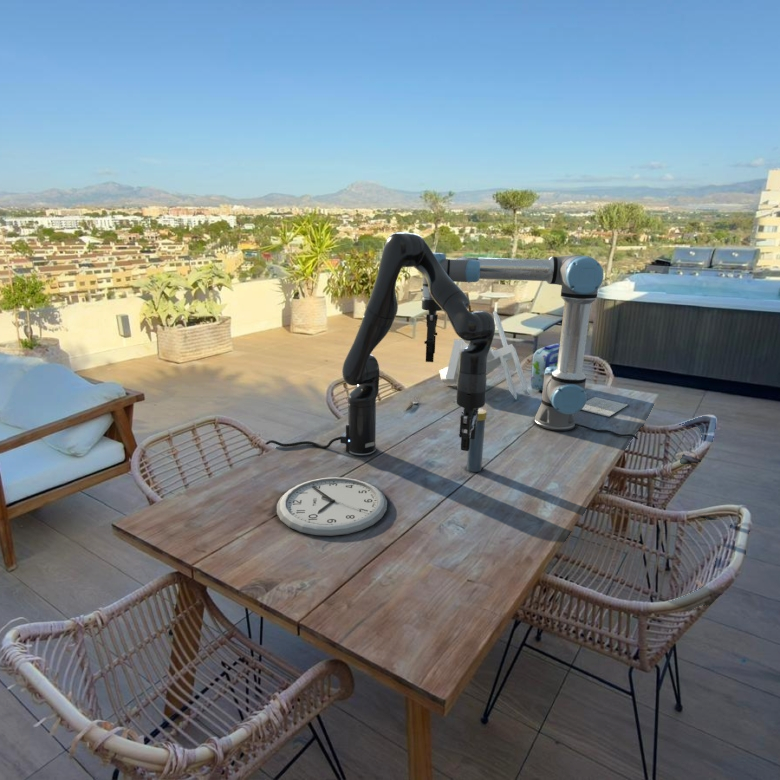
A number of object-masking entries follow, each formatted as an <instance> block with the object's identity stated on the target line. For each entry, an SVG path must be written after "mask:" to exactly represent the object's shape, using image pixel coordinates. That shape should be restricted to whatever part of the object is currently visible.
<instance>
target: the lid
mask: <svg viewBox="0 0 780 780" xmlns="http://www.w3.org/2000/svg"><path fill="white" fill-rule="evenodd" d="M478 412H479V413H478V421H483V420H485V421H486V419H487V415H488V411H487V410H486V409H483V408H479V410H478Z"/></svg>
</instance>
